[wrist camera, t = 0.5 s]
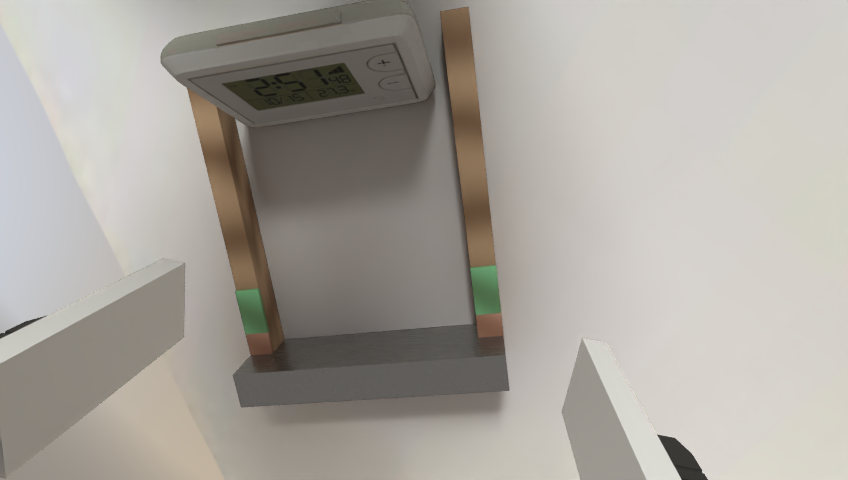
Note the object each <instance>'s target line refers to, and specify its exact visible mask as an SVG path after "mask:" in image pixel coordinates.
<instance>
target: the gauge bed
mask: <svg viewBox="0 0 848 480" xmlns="http://www.w3.org/2000/svg"><path fill="white" fill-rule="evenodd" d="M440 15H441V24H442V32H443V41H444V49H445V57H446V66H447V74H448V83H449V91H450V99H451V108H452V116H453V125H454V133H455V141H456V150H457V158H458V167H459V175H460V183H461V192H462V200H463V209H464V217H465V225H466V234H467V242H468V251H469V259H470V271H471V279H472V287H473V296H474V304H475V312H476V321H477V329H478V338H479V337H492V336H503V326H502V317H501V307H500V298H499V289H498V279H497V270H496V263H495V253H494V244H493V234H492V225H491V215H490V206H489V197H488V187H487V178H486V168H485V159H484V149H483V140H482V130H481V121H480V112H479V102H478V93H477V83H476V74H475V64H474V55H473V45H472V36H471V26H470V17H469V8H468V7H464V8H458V9H452V10H446V11H440ZM187 90H188V94H189V98H190V102H191V106H192V110H193V114H194V118H195V122H196V126H197V131H198V135H199V139H200V143H201V147H202V151H203V155H204V159H205V163H206V167H207V172H208V176H209V180H210V184H211V188H212V192H213V196H214V200H215V204H216V208H217V213H218V217H219V221H220V225H221V229H222V233H223V237H224V241H225V245H226V249H227V254H228V258H229V262H230V266H231V270H232V274H233V278H234V282H235V286H236V291H235V293H236V297H237V301H238V305H239V309H240V313H241V317H242V321H243V325H244V330H245V334H246V338H247V342H248V346H249V350H250V354H251V355H261V354H273V353H274V351H275V350H276V349H277V348H278V347H279V345H280V344H281V343H282V342H283V341H284V336H283V332H282V327H281V323H280V318H279V314H278V309H277V305H276V300H275V296H274V291H273V287H272V283H271V278H270V274H269V269H268V265H267V260H266V256H265V251H264V247H263V242H262V238H261V234H260V229H259V225H258V220H257V216H256V211H255V207H254V202H253V198H252V193H251V189H250V185H249V180H248V176H247V171H246V167H245V162H244V158H243V153H242V149H241V144H240V140H239V136H238V131H237V127H236V122H235V118H234V117H232V116H230V115H229V114H227V113H226V112H224V111H223V110H221V109H220V108H218V107H216V106H215V105H213V104H212V103H210V102H209V101H207V100H206V99H204V98H202V97H201V96H199V95H198V94H196V93H195V92H193V91H191V90H190V89H188V88H187Z"/></svg>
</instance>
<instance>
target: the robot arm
mask: <svg viewBox="0 0 848 480" xmlns="http://www.w3.org/2000/svg"><path fill="white" fill-rule="evenodd" d="M184 309H185V263H184V262H179V261H173V260H168V259H161V260H159V261H157V262H155V263H153V264H151V265H149V266H147V267H145V268H143V269H141V270H139V271H137V272H135V273H133V274H131V275H129V276H127V277H125V278H123V279H121V280H119V281H117V282H115V283H113V284H111V285H109V286H107V287H105V288H103V289H101V290H99V291H97V292H94V293H92V294H90V295H88V296H86V297H85V298H82V299H81V300H78V301H76V302H74V303H72V304H70V305H68V306H66V307H64V308H62V309H60V310H58V311H56V312H54V313H52V314H50V315H48V316H44V317H40V318H37V319H33V320H30V321H26V322H24V323H22V324H20V325H17V326H15V327H14V328H11V329H9V330H7V331H6V332H5V333H1V334H0V477H1V478H7V477H9V476H10V475H11V474H12V473H13V472H15V471H16V470H17V469H19V468H20V467H21V466H22V465H24V464H25V463H26V462H27V461H29V460H30V459H31V458H33V457H34V456H35V455H36V454H38V453H39V452H40V451H41V450H43V449H44V448H45V447H46V446H47V445H49V444H50V443H51V442H53V441H54V440H55V439H56V438H58V437H59V436H60V435H61V434H63V433H64V432H65V431H66V430H68V429H69V428H70V427H71V426H73V425H74V424H75V423H76V422H78V421H79V420H80V419H82V418H83V417H84V416H85V415H86V414H88V413H89V412H90V411H91V410H93V409H94V408H95V407H97V406H98V405H99V404H100V403H102V402H103V401H104V400H105V399H107V398H108V397H109V396H110V395H112V394H113V393H114V392H115V391H117V390H118V389H119V388H120V387H122V386H123V385H124V384H125V383H127V382H128V381H129V380H130V379H132V378H133V377H134V376H135V375H137V374H138V373H139V372H140V371H142V370H143V369H144V368H146V367H147V366H148V365H149V364H151V363H152V362H153V361H154V360H156V359H157V358H158V357H159V356H161V355H162V354H163V353H164V352H166V351H167V350H168V349H169V348H171V347H172V346H173V345H175V344H176V343H177V342H178V341H180V340H181V339H182V338H183V337H184ZM562 415H563V418H564V422H565V426H566V429H567V433H568V436H569V440H570V444H571V447H572V451H573V454H574V458H575V462H576V465H577V469H578V472H579V476H580V480H708V479H707V478H706V476H705V474H703V473H702V469H701V468H700V466H699V465H698V463H697V461H696V460H695V458H694V456H693V455H692V454H691V453H690V452H689V451H688V450H687V449H686V448H685V447H684V446H683V445H682V444H681V443H680V442H679V441H677V440H676V439H675V438H672V437H667V436H662V435H657V434H656V432H655V430H654V428H653V426H652V425H651V423H650V421H649V419H648V417H647V415H646V414H645V412H644V410H643V408H642V406H641V404H640V403H639V401H638V399H637V397H636V395H635V393H634V392H633V390H632V388H631V386H630V384H629V382H628V381H627V379H626V377H625V375H624V373H623V372H622V370H621V368H620V366H619V364H618V362H617V361H616V359H615V357H614V355H613V353H612V351H611V350H610V348H609V346H608V344H607V342H601V341H596V340H591V339H585V338H582V341H581V344H580V348H579V352H578V355H577V359H576V362H575V366H574V370H573V373H572V377H571V380H570V384H569V387H568V391H567V395H566V398H565V402H564V405H563V409H562Z"/></svg>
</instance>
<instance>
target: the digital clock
mask: <svg viewBox="0 0 848 480" xmlns="http://www.w3.org/2000/svg"><path fill="white" fill-rule="evenodd" d="M161 64H162V65H163V66H164V68H165V69H166V70H167V71H168V72H169V73H170V74H171V75H172V76H173V77H174V78H175V79H176V80H177V81H178V82H180V83H181V84H182V85H184V86H185V87H187V88H188V89H190V90H191V91H193V92H195V93H196V94H198V95H199V96H201V97H202V98H204V99H206V100H207V101H209V102H210V103H212V104H213V105H215V106H216V107H218V108H220V109H221V110H223V111H224V112H226V113H227V114H229V115H230V116H232V117H234V118H235V119H237V120H238V121H240V122H241V123H243V124H245V125H247V126H250V127H263V126H270V125H278V124H284V123H290V122H297V121H303V120H310V119H316V118H322V117H329V116H335V115H342V114H348V113H354V112H361V111H367V110H373V109H380V108H386V107H393V106H399V105H405V104H411V103H416V102H421V101H424V100H426V99H427V98H428V97H429V95H430V94H431V93H432V91H433V90H434V88H435V80H434V76H433V72H432V69H431V66H430V63H429V59H428V56H427V53H426V49H425V46H424V43H423V39H422V36H421V33H420V29H419V26H418V23H417V20H416V18H415V15H414V13H413V11H412V9H411V8H410V7H409V6H408V5H407V4H406V3H405V2H404V1H402V0H369V1H364V2H358V3H352V4H347V5H341V6H336V7H331V8H326V9H320V10H315V11H310V12H304V13H299V14H294V15H288V16H283V17H278V18H273V19H267V20H262V21H257V22H251V23H246V24H241V25H236V26H230V27H225V28H220V29H214V30H209V31H204V32H199V33H194V34H190V35H185V36H181V37H177V38H175V39H173V40H172V41H171V42H169V43H168V44H167V45H166V47H165V48H164V49H163V51H162V53H161Z"/></svg>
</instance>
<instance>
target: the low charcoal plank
mask: <svg viewBox="0 0 848 480" xmlns="http://www.w3.org/2000/svg"><path fill="white" fill-rule="evenodd" d="M233 378H234V382H235V385H236V389H237V393H238V397H239V401H240V405H241V407H255V406H270V405H286V404H302V403H318V402H334V401H350V400H366V399H382V398H398V397H414V396H430V395H446V394H462V393H478V392H494V391H509V383H508V374H507V364H506V355H505V346H504V338H503V336H492V337H479V338H478V329H477V324H470V325H457V326H445V327H433V328H421V329H408V330H396V331H384V332H372V333H360V334H347V335H335V336H323V337H311V338H299V339H286V340H284V341H283V342H282V343H281V344H280V345H279V347H278V348H277V349H276V350H275V351H274V353H273V354H261V355H251V356H250V357H249V358H248V359H247V360H246V361H245V362H244V363H243V364H242V366H241V367H240V368H239V369H238V370H237V371H236V372H235V373H234V374H233Z"/></svg>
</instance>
